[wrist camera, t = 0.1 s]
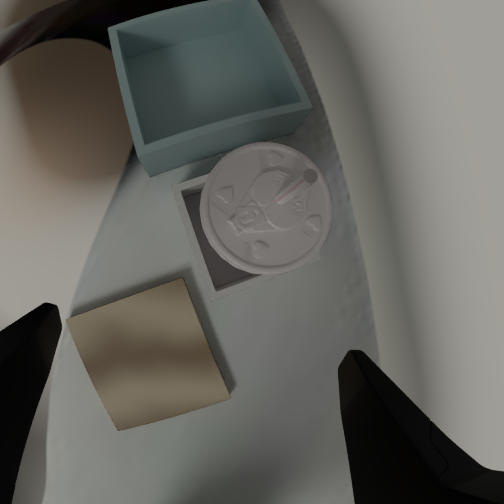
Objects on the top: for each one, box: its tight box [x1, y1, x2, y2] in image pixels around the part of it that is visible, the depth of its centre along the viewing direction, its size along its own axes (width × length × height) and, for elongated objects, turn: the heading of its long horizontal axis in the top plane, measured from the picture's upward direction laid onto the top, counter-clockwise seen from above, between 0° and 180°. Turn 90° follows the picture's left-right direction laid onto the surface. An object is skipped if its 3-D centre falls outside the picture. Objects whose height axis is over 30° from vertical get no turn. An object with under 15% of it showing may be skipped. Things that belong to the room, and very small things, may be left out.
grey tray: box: [171, 173, 322, 301], centre depth 23 cm, size 8×8×2 cm
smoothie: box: [200, 142, 333, 275], centre depth 17 cm, size 6×6×14 cm
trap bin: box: [108, 0, 313, 177], centre depth 21 cm, size 12×12×5 cm
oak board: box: [66, 277, 231, 431], centre depth 22 cm, size 10×10×1 cm
